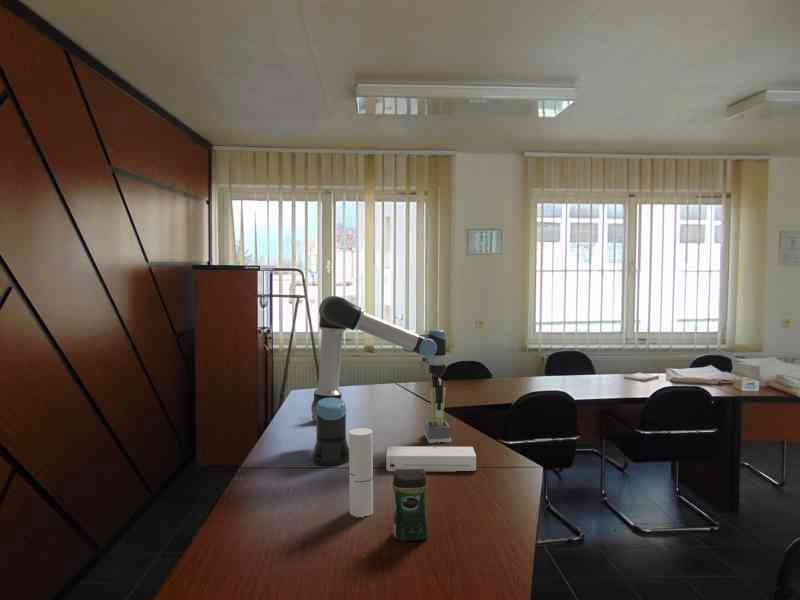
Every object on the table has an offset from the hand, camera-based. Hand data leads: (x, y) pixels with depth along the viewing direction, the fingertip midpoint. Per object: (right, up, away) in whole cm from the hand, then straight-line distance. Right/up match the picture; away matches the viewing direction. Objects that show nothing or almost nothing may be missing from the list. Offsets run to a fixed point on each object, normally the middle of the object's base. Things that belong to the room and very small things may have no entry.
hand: (437, 415), depth 228 cm
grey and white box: (0, -10, 0) cm, 10 cm away
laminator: (-5, -12, -34) cm, 37 cm away
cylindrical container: (-29, -13, -72) cm, 79 cm away
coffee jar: (-14, -14, -87) cm, 89 cm away
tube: (0, -7, 0) cm, 7 cm away
